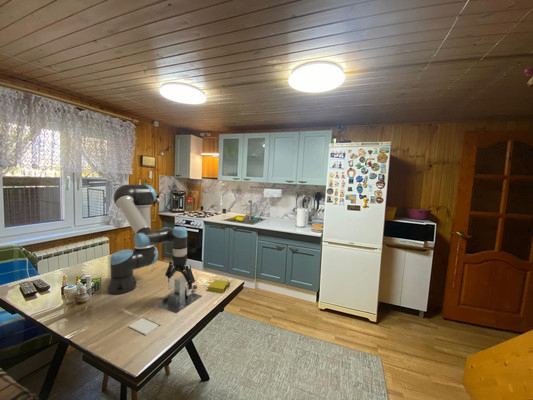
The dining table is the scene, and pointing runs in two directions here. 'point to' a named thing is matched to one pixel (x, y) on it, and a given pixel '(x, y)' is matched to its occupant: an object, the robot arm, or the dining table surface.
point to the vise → (173, 303)
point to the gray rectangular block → (180, 288)
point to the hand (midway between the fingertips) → (179, 291)
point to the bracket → (218, 286)
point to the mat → (144, 326)
